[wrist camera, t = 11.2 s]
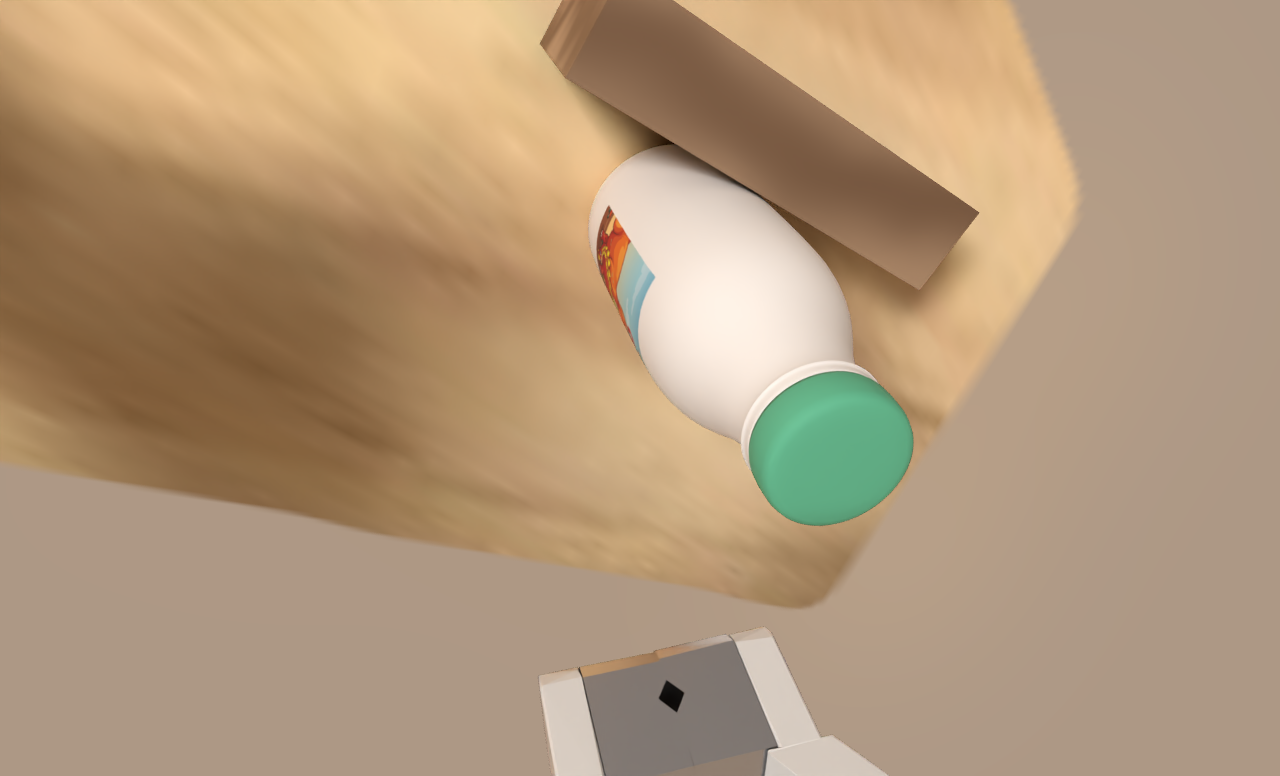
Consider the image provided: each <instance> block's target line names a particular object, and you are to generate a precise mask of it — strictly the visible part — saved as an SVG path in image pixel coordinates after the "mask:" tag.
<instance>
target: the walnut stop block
mask: <svg viewBox="0 0 1280 776" xmlns="http://www.w3.org/2000/svg"><path fill="white" fill-rule="evenodd" d="M540 44H541V46H542V47H543V48H544V50H545V51H546V52H547V54H548V55H549V56H550V58H551V59H552V60H553V62H554V63H555V65H556V66H557V67H558V69H559V70H560V71H561V73H562V74H563V75H564V77H565V78H567V79H568V80H570V81H572V82H573V83H575V84H577V85H578V86H580V87H582V88H583V89H585V90H587V91H588V92H590V93H592V94H593V95H595V96H596V97H598V98H600V99H601V100H603V101H605V102H606V103H608V104H610V105H611V106H613V107H615V108H616V109H618V110H620V111H621V112H623V113H625V114H626V115H628V116H630V117H631V118H633V119H635V120H636V121H638V122H640V123H641V124H643V125H645V126H646V127H648V128H650V129H651V130H653V131H655V132H656V133H658V134H660V135H661V136H663V137H665V138H666V139H668V140H670V141H671V142H673V143H675V144H676V145H678V146H680V147H681V148H683V149H685V150H686V151H688V152H690V153H691V154H693V155H695V156H696V157H698V158H700V159H701V160H703V161H705V162H706V163H708V164H710V165H711V166H713V167H715V168H716V169H718V170H720V171H721V172H723V173H725V174H726V175H728V176H730V177H731V178H733V179H735V180H736V181H738V182H740V183H741V184H743V185H745V186H746V187H748V188H750V189H751V190H753V191H755V192H756V193H758V194H760V195H761V196H763V197H765V198H766V199H768V200H770V201H771V202H773V203H775V204H776V205H778V206H780V207H781V208H783V209H785V210H786V211H788V212H790V213H791V214H793V215H795V216H796V217H798V218H800V219H801V220H803V221H805V222H806V223H808V224H810V225H811V226H813V227H815V228H816V229H818V230H820V231H821V232H823V233H825V234H826V235H828V236H830V237H831V238H833V239H835V240H836V241H838V242H840V243H841V244H843V245H845V246H846V247H848V248H850V249H851V250H853V251H855V252H856V253H858V254H860V255H861V256H863V257H865V258H866V259H868V260H870V261H871V262H873V263H875V264H876V265H878V266H880V267H881V268H883V269H885V270H886V271H888V272H890V273H891V274H893V275H895V276H896V277H898V278H900V279H901V280H903V281H904V282H906V283H908V284H909V285H911V286H913V287H914V288H916V289H918V290H919V291H920V289H921V288H922V287H923V285H924V284H925V283H926V281H927V280H928V279H929V277H930V276H931V275H932V274H933V272H934V271H935V270H936V268H937V267H938V266H939V264H940V263H941V262H942V261H943V259H944V258H945V257H946V255H947V254H948V253H949V251H950V250H951V249H952V248H953V246H954V245H955V244H956V242H957V241H958V240H959V238H960V237H961V236H962V235H963V233H964V232H965V231H966V229H967V228H968V227H969V225H970V224H971V223H972V222H973V220H974V219H975V218H976V216H977V215H978V214H979V212H978V211H976V210H975V209H973V208H972V207H971V206H969V205H968V204H966V203H965V202H963V201H962V200H960V199H959V198H958V197H956V196H955V195H953V194H952V193H950V192H949V191H947V190H946V189H945V188H943V187H942V186H940V185H939V184H937V183H936V182H934V181H933V180H932V179H930V178H929V177H927V176H926V175H924V174H923V173H921V172H920V171H919V170H917V169H916V168H914V167H913V166H911V165H910V164H908V163H907V162H906V161H904V160H903V159H901V158H900V157H898V156H897V155H896V154H894V153H893V152H891V151H890V150H888V149H887V148H885V147H884V146H883V145H881V144H880V143H878V142H877V141H875V140H874V139H872V138H871V137H870V136H868V135H867V134H865V133H864V132H862V131H861V130H859V129H858V128H857V127H855V126H854V125H852V124H851V123H849V122H848V121H846V120H845V119H844V118H842V117H841V116H839V115H838V114H836V113H835V112H833V111H832V110H831V109H829V108H828V107H826V106H825V105H823V104H822V103H820V102H819V101H818V100H816V99H815V98H813V97H812V96H810V95H809V94H807V93H806V92H805V91H803V90H802V89H800V88H799V87H797V86H796V85H794V84H793V83H792V82H790V81H789V80H787V79H786V78H784V77H783V76H781V75H780V74H779V73H777V72H776V71H774V70H773V69H771V68H770V67H768V66H767V65H766V64H764V63H763V62H761V61H760V60H758V59H757V58H756V57H754V56H753V55H751V54H750V53H748V52H747V51H745V50H744V49H743V48H741V47H740V46H738V45H737V44H735V43H734V42H732V41H731V40H730V39H728V38H727V37H725V36H724V35H722V34H721V33H719V32H718V31H717V30H715V29H714V28H712V27H711V26H709V25H708V24H706V23H705V22H704V21H702V20H701V19H699V18H698V17H696V16H695V15H693V14H692V13H691V12H689V11H688V10H686V9H685V8H683V7H682V6H680V5H679V4H678V3H676V2H675V1H673V0H562V2H561V4H560V6H559V8H558V10H557V12H556V14H555V16H554V18H553V20H552V21H551V23H550V25H549V27H548V29H547V31H546V33H545V35H544V37H543V39H542V41H541V43H540Z"/></svg>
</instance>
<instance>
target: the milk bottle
mask: <svg viewBox="0 0 1280 776" xmlns="http://www.w3.org/2000/svg"><path fill="white" fill-rule="evenodd" d="M588 237H589V244H590V248H591V252H592V255H593V258H594V260H595V263H596V265H597V268H598V270H599V272H600V275H601V277H602V279H603V281H604V283H605V285H606V288H607V290H608V292H609V294H610V296H611V298H612V300H613V302H614V305H615V307H616V309H617V311H618V313H619V315H620V317H621V319H622V321H623V323H624V325H625V327H626V329H627V331H628V333H629V336H630V338H631V340H632V342H633V344H634V346H635V348H636V350H637V352H638V354H639V356H640V357H641V359H642V361H643V363H644V365H645V366H646V368H647V370H648V372H649V373H650V375H651V377H652V379H653V380H654V382H655V383H656V385H657V386H658V387H659V388H660V390H661V391H662V392H663V394H664V395H665V396H666V397H667V398H668V400H669V401H670V402H671V403H672V404H673V405H674V406H676V407H677V408H678V409H679V410H680V411H681V412H682V413H683V414H684V415H686V416H687V417H689V418H690V419H691V420H693V421H694V422H696V423H697V424H699V425H701V426H703V427H704V428H707V429H709V430H711V431H713V432H715V433H718V434H720V435H723V436H725V437H728V438H731V439H733V440H735V441H737V442H738V443H740V444H741V450H742V454H743V458H744V460H745V462H746V464H747V466H748V468H749V469H750V470H751V471H752V473H753V476H754V478H755V480H756V482H757V484H758V486H759V488H760V489H761V491H762V493H763V494H764V496H765V497H766V499H767V500H768V502H769V503H770V504H771V505H772V507H774V508H775V509H776V510H777V511H778V512H779V513H781V514H782V515H783V516H785V517H786V518H788V519H790V520H792V521H794V522H797V523H801V524H805V525H814V526H823V525H831V524H837V523H841V522H844V521H847V520H850V519H852V518H855V517H857V516H859V515H861V514H863V513H865V512H867V511H868V510H870V509H872V508H873V507H874V506H876V505H877V504H879V503H880V502H881V501H882V500H883V499H885V498H886V497H887V496H888V495H889V494H890V493H891V492H892V491H893V489H894V488H895V487H896V486H897V485H898V483H899V482H900V480H901V479H902V477H903V476H904V474H905V472H906V470H907V468H908V466H909V463H910V460H911V457H912V452H913V433H912V429H911V426H910V423H909V420H908V418H907V416H906V414H905V412H904V411H903V409H902V408H901V407H900V406H899V404H898V403H897V402H896V401H895V399H894V398H893V397H892V396H891V395H890V394H889V393H888V392H887V391H886V390H885V389H884V388H883V387H882V386H881V385H880V384H879V383H878V382H877V380H876V379H875V378H874V377H873V376H872V375H871V374H870V373H869V372H868V371H867V370H865V369H864V368H862V367H860V366H858V365H856V364H855V361H854V356H853V335H852V324H851V318H850V314H849V310H848V306H847V303H846V300H845V297H844V295H843V293H842V290H841V288H840V286H839V284H838V282H837V280H836V278H835V277H834V275H833V274H832V272H831V270H830V269H829V267H828V266H827V264H826V263H825V262H824V260H823V259H822V258H821V257H820V255H819V254H818V253H817V252H816V251H815V250H814V249H813V248H812V247H811V246H810V245H809V243H808V242H807V241H806V240H805V239H804V238H803V237H802V236H801V235H800V234H799V233H798V232H797V231H796V230H795V229H794V228H793V227H792V226H791V225H790V224H789V223H788V222H787V221H786V220H785V219H784V218H783V217H782V216H781V215H779V214H778V213H777V212H776V211H775V210H774V209H773V208H772V207H771V206H770V205H769V204H768V203H767V202H766V201H765V200H764V199H763V198H762V197H761V196H760V195H758V194H757V193H756V192H755V191H753V190H751V189H750V188H748V187H746V186H745V185H743V184H741V183H740V182H738V181H736V180H735V179H733V178H731V177H730V176H728V175H726V174H725V173H723V172H721V171H720V170H718V169H716V168H715V167H713V166H711V165H710V164H708V163H706V162H705V161H703V160H701V159H700V158H698V157H696V156H695V155H693V154H691V153H690V152H688V151H686V150H685V149H683V148H681V147H680V146H678V145H663V146H657V147H653V148H650V149H647V150H644V151H642V152H640V153H638V154H636V155H634V156H632V157H630V158H629V159H627V160H626V161H624V162H623V163H622V164H620V165H619V166H618V167H617V168H616V169H615V170H614V171H613V172H612V173H611V174H610V175H609V176H608V177H607V179H606V180H605V181H604V183H603V184H602V186H601V187H600V189H599V191H598V193H597V195H596V197H595V199H594V202H593V205H592V208H591V212H590V216H589V223H588Z"/></svg>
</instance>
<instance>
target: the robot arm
mask: <svg viewBox="0 0 1280 776" xmlns="http://www.w3.org/2000/svg"><path fill="white" fill-rule="evenodd" d="M538 681H539V689H540V697H541V705H542V713H543V721H544V729H545V736H546V744H547V751H548V758H549V765H550V771H551V776H889V775H888V774H887V773H885V772H884V771H882V770H881V769H880V768H878V767H877V766H876V765H874V764H873V763H871V762H870V761H869V760H867V759H866V758H864V757H863V756H862V755H860V754H859V753H857V752H856V751H855V750H853V749H852V748H851V747H849V746H848V745H846V744H845V743H843V742H842V741H841V740H840V739H838V738H837V737H835V736H834V735H828V736H823V737H821V735H820V732H819V730H818V728H817V726H816V724H815V722H814V720H813V718H812V716H811V714H810V711H809V709H808V707H807V705H806V703H805V701H804V699H803V697H802V695H801V693H800V691H799V689H798V686H797V684H796V682H795V680H794V678H793V676H792V674H791V672H790V670H789V668H788V665H787V663H786V661H785V659H784V657H783V655H782V653H781V651H780V649H779V647H778V645H777V642H776V640H775V638H774V636H773V634H772V633H771V632H770V631H769V630H768V629H767V628H766V627H759V628H755V629H751V630H747V631H742V632H739V633H735V634H730V635H726V634H724V635H719V636H715V637H711V638H706V639H702V640H698V641H694V642H690V643H685V644H682V645H677V646H672V647H669V648H664V649H660V650H656V651H654V652H653V653H648V654H642V655H637V656H633V657H628V658H622V659H617V660H612V661H607V662H603V663H597V664H593V665H587V666H582V667H579V668H578V667H575V668H571V669H566V670H561V671H557V672H553V673H548V674H543V675H539V676H538Z"/></svg>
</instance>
